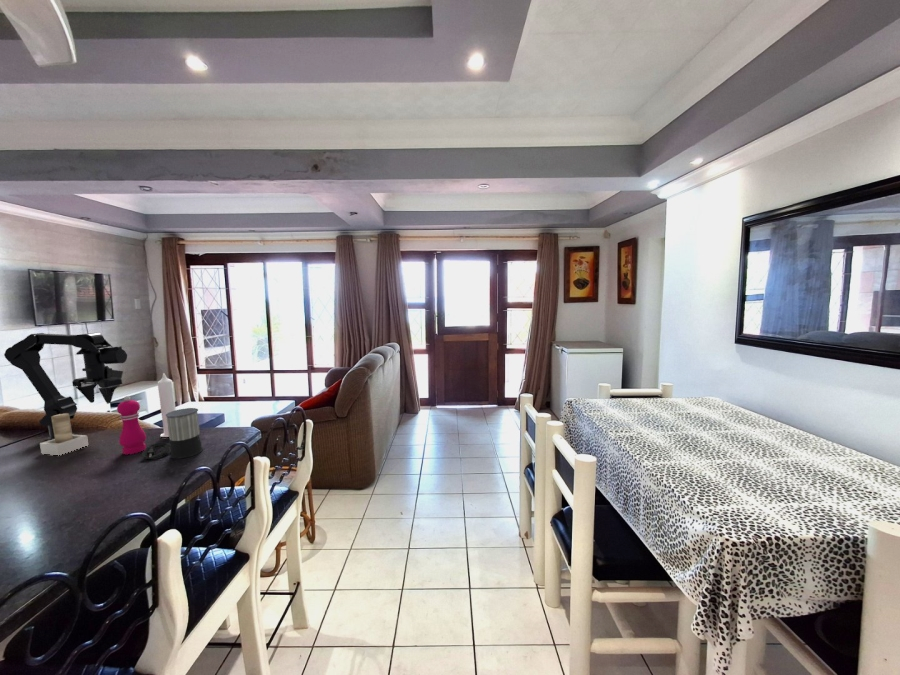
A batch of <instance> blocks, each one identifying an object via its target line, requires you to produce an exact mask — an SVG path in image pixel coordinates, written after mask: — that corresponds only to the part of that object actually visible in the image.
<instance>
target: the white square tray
mask: <svg viewBox="0 0 900 675" xmlns="http://www.w3.org/2000/svg"><path fill="white" fill-rule="evenodd" d="M72 436H73V439H72V440H69V441H65V442H62V443H56V442H55V439H53V440H46V441H43V442H40V443H39V447H40V452H41V453H42V454H41V455H44V454H50V455H49V456H53V455H58V456H57V457H60V456H62V454H63V455H66V454H68V452H69V453H72V452H75V451H77V450H76V449H78V450H80V448H81V449H83V448H82V447H84V448H86V447H85V446H87V447H89V446H88V445H89V440H88V435H84V434H83V435H82V434H76V435H74V434H72ZM74 450H75V451H74ZM71 451H72V452H71ZM65 453H66V454H65ZM59 455H60V456H59Z"/></svg>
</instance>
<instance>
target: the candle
mask: <svg viewBox="0 0 900 675" xmlns="http://www.w3.org/2000/svg"><path fill="white" fill-rule="evenodd" d="M173 385H174V384H173V380H172V379H170V378H168V376H167V375H166V373H165V372H163V373H162V377H161V379H160V380H158V381H157V390H158V397H159V405H160V411H161V412H160V413H161V419H162V428H163V433H161V434H160V436H159V437H160V438H161V437H169V431H168V423H167V417H166V416H165V415H166V414H167V413H169V412H172V411H175V410H177V408H176V402H175V401H176V400H175V392H174V386H173Z"/></svg>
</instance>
